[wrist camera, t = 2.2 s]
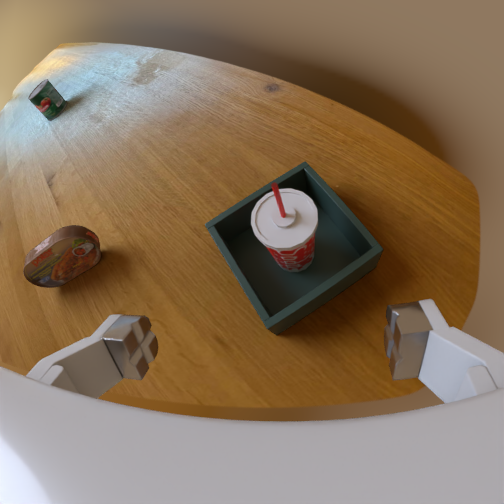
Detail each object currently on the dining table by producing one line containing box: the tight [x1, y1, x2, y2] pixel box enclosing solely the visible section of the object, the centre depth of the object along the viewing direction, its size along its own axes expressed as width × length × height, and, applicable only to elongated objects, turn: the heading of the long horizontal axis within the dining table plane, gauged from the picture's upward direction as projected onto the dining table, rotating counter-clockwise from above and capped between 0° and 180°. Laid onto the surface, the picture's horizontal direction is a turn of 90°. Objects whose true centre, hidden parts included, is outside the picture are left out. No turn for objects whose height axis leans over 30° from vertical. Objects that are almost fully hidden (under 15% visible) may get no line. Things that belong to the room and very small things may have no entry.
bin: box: [205, 162, 383, 335], centre depth 33 cm, size 14×14×5 cm
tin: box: [24, 225, 101, 288], centre depth 39 cm, size 15×3×8 cm, turn 111°
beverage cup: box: [251, 182, 318, 272], centre depth 29 cm, size 6×6×14 cm
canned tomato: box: [28, 79, 67, 121], centre depth 65 cm, size 8×8×11 cm
